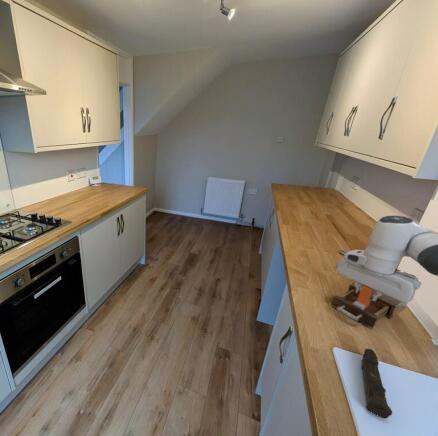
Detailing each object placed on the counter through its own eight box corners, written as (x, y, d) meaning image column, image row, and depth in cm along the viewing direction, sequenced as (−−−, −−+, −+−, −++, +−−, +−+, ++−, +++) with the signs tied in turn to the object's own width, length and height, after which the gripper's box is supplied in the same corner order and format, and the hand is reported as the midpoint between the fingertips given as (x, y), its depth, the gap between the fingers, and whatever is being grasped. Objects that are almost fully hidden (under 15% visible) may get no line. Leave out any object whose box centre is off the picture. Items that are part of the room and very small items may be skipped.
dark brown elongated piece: (387, 423, 54) (396, 410, 52) (364, 411, 56) (371, 398, 54) (376, 362, 68) (383, 350, 66) (358, 354, 70) (364, 342, 68)
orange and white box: (368, 306, 85) (377, 286, 82) (361, 311, 83) (369, 291, 80) (359, 301, 87) (367, 282, 84) (351, 306, 85) (359, 287, 82)
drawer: (366, 332, 77) (370, 323, 75) (325, 308, 87) (327, 299, 86) (388, 315, 84) (393, 307, 83) (348, 295, 94) (351, 287, 93)
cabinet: (389, 319, 84) (396, 306, 82) (345, 296, 95) (350, 284, 93) (405, 306, 90) (411, 294, 88) (362, 286, 101) (366, 275, 99)
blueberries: (340, 250, 132) (342, 247, 131) (359, 255, 126) (360, 252, 125) (337, 253, 128) (338, 250, 127) (356, 259, 122) (357, 256, 121)
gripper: (427, 276, 72) (409, 312, 77) (348, 248, 89) (338, 279, 94) (419, 281, 69) (401, 318, 74) (339, 251, 86) (329, 283, 91)
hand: (365, 296), depth 84 cm, fingers closed on orange and white box, 2 cm apart
